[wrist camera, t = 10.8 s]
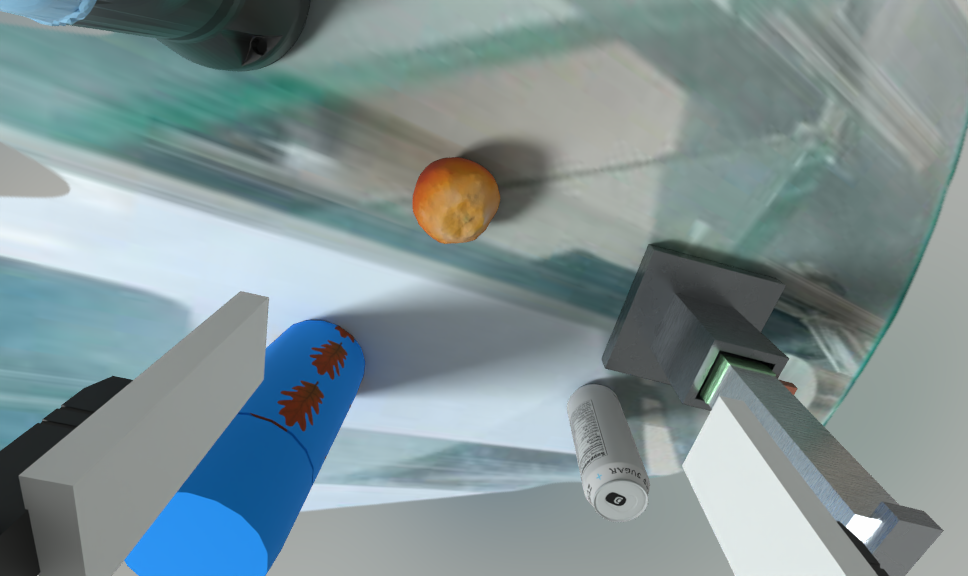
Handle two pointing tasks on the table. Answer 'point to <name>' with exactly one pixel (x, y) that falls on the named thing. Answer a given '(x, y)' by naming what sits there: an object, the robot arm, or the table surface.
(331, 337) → the thermos
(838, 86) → the table surface
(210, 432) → the robot arm
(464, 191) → the fruit
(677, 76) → the table surface
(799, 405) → the column
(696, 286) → the stand base
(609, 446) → the energy drink can
